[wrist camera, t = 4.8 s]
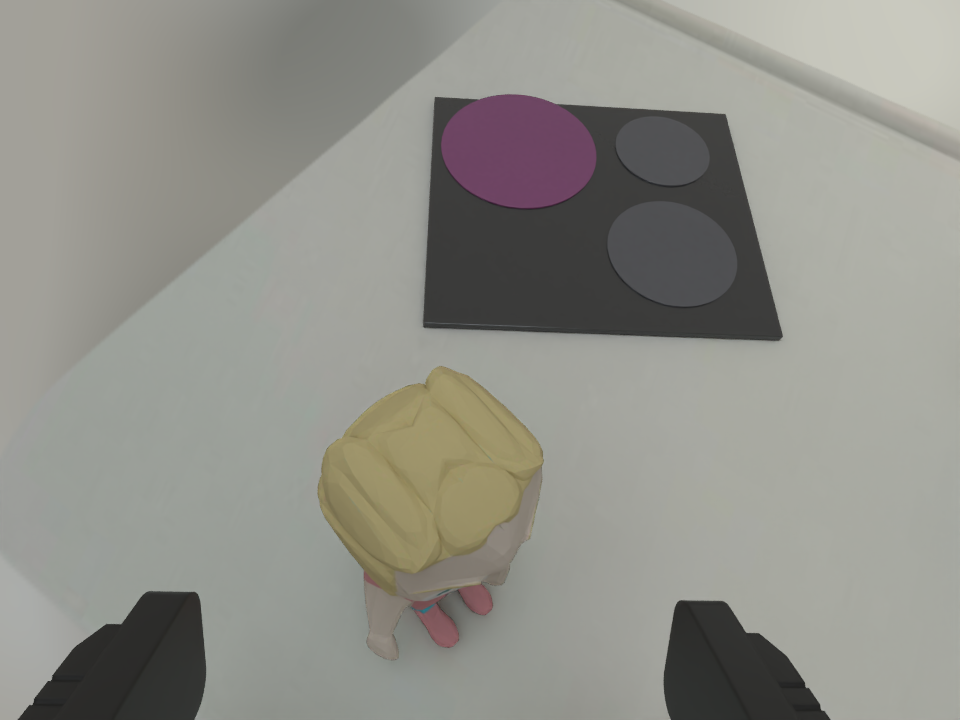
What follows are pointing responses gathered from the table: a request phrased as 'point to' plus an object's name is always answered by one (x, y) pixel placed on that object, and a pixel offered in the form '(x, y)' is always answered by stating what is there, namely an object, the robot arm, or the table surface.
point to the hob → (591, 223)
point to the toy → (431, 500)
